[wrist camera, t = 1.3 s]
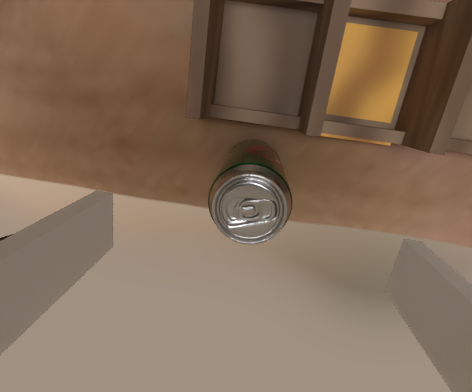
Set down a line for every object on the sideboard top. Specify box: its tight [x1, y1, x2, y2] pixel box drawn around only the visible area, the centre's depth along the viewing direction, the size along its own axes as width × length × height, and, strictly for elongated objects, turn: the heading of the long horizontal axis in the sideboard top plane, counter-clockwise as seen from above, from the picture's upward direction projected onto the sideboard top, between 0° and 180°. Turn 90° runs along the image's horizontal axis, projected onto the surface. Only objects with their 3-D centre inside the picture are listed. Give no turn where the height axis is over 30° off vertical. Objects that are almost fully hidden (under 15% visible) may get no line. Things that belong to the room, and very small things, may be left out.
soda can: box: [208, 140, 292, 244], centre depth 22 cm, size 5×5×12 cm
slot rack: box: [186, 0, 472, 155], centre depth 21 cm, size 26×10×7 cm, turn 82°
